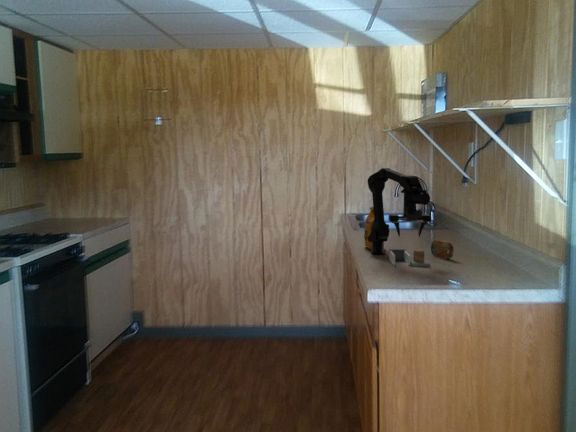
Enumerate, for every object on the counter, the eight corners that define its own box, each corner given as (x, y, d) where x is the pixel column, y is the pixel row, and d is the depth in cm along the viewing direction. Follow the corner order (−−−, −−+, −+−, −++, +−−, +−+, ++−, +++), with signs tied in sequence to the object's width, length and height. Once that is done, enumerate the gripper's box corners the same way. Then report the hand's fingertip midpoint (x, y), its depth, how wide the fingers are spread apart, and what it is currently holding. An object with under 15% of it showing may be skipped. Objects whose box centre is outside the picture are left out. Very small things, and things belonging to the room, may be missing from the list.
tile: (409, 262, 259) (409, 260, 259) (426, 262, 259) (426, 260, 259) (412, 266, 251) (412, 263, 251) (430, 266, 251) (430, 263, 251)
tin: (430, 255, 277) (430, 238, 276) (435, 254, 278) (435, 238, 277) (448, 260, 263) (449, 243, 262) (454, 260, 264) (455, 242, 263)
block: (413, 260, 259) (413, 249, 258) (422, 260, 258) (422, 249, 258) (415, 262, 255) (415, 251, 254) (424, 262, 255) (424, 251, 254)
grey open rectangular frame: (389, 259, 266) (389, 249, 266) (405, 259, 266) (405, 249, 266) (393, 265, 254) (393, 254, 253) (410, 265, 253) (410, 254, 253)
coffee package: (366, 250, 289) (367, 208, 286) (362, 246, 301) (363, 206, 299) (385, 250, 289) (386, 208, 287) (381, 246, 302) (381, 206, 299)
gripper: (392, 205, 250) (391, 239, 252) (434, 204, 249) (433, 239, 251) (388, 202, 261) (388, 235, 263) (428, 202, 260) (427, 235, 262)
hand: (409, 236), depth 260 cm, fingers open, 9 cm apart
